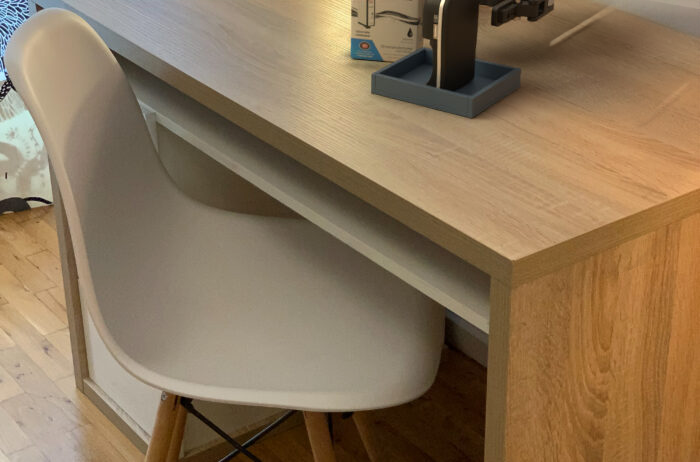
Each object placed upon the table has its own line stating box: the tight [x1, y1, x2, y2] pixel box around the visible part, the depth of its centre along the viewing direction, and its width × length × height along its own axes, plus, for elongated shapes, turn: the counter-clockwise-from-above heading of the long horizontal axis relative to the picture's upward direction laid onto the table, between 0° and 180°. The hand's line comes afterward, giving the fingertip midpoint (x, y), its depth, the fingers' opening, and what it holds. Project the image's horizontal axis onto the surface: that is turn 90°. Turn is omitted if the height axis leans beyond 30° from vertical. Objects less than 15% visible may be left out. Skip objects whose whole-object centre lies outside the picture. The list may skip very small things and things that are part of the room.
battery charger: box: [422, 0, 480, 91], centre depth 120 cm, size 7×4×11 cm, turn 143°
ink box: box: [350, 0, 425, 63], centre depth 130 cm, size 9×5×12 cm, turn 76°
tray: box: [370, 46, 522, 119], centre depth 122 cm, size 13×11×2 cm
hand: (460, 11), depth 121 cm, fingers open, 8 cm apart
